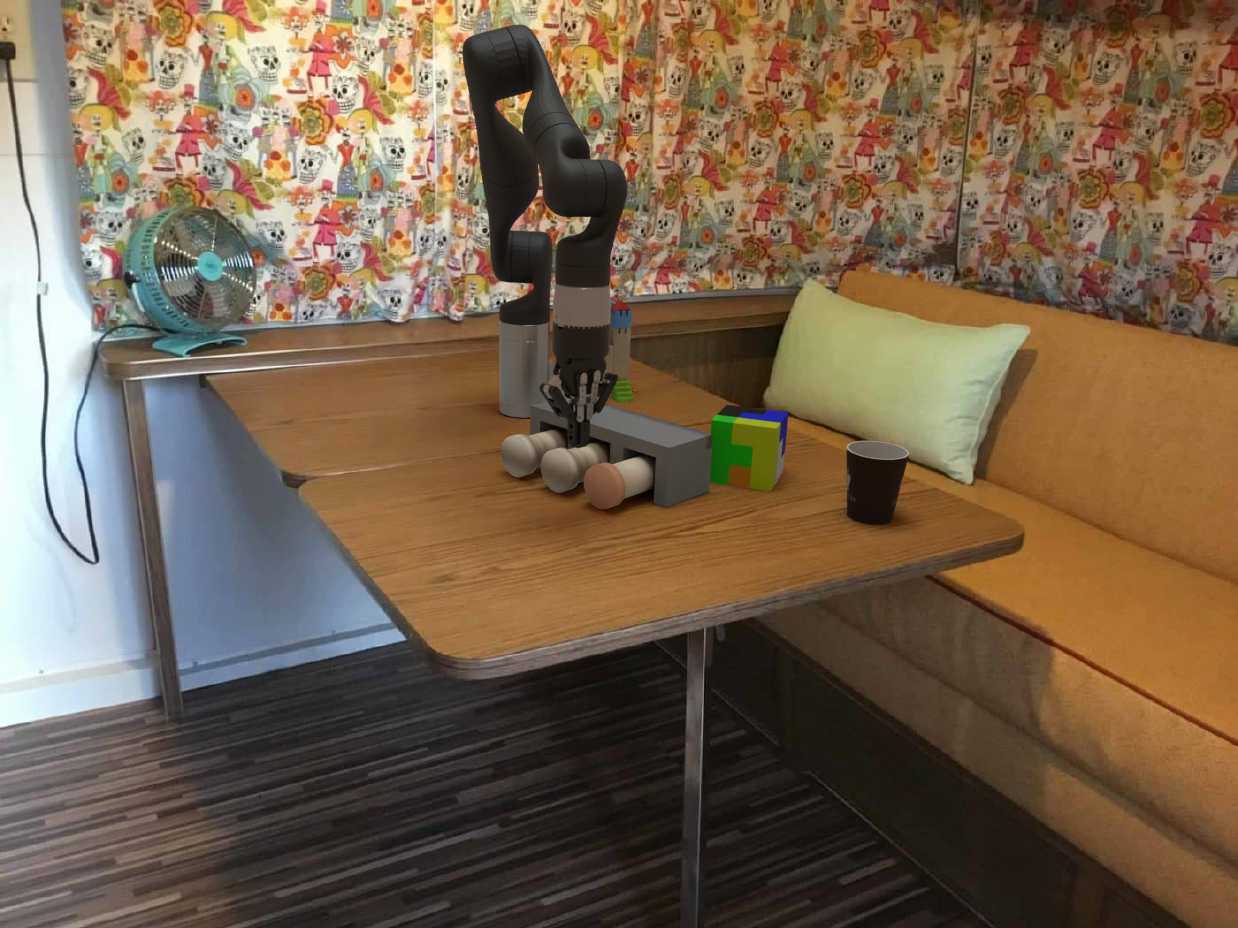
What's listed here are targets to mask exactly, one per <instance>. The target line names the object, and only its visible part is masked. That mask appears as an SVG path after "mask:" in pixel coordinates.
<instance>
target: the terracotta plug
mask: <svg viewBox="0 0 1238 928" xmlns="http://www.w3.org/2000/svg"><path fill="white" fill-rule="evenodd" d="M655 469H656V460H655V459H654V458H653V457H651V456H649V455H641V456H638V457H635V458H631V459H628V460H625V461H622V462H618V463H615V464H610V463H606V462H605V463H600V464H597V465H594V466H591V467H590V468H589V469H588V470H587V471H586V473H585V476H584V481H583V488H584V493H585V495H586V498H587V499H588V501H589V502H590V503H591V505H593V506H594V507H596V508H597V509H599V510H607V509H608V510H609V509H611V508H614V507H617V506H618V505H620V504H621V503H622V502H623V500H624V499H628V498H630V497H633V496H635V495H639V494H642V493H645V492H647V491H651V490H653V489H655Z"/></svg>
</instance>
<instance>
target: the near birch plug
mask: <svg viewBox="0 0 1238 928" xmlns="http://www.w3.org/2000/svg"><path fill="white" fill-rule="evenodd" d="M567 434H568V431H567V430H566V429H564V428H557V429H553V430H549V431H545V432H541V433H537V434H533V435H530V434H529V435H526V434H524V433H518V434H513V435H509V436H507V437H506V438H505V439H504V440H503V441H502V444H501V447H500V448H501V449H500V457H501V460H502V463H503V466H504V468H505V470H506V471H507V472H508V473H509V474H510V475H511V476H513V477H514V478H521V477H525V476H526V477H527V476H528V475H532V474H533V473H534V472H535V471H536V470H537V469H539V468H540V469H541V461H542V458H543V456H544V454H545V453H546V452H547V451H550V450H553V449H557V448H566V449H568V440H567Z"/></svg>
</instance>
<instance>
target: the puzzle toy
mask: <svg viewBox="0 0 1238 928" xmlns="http://www.w3.org/2000/svg"><path fill="white" fill-rule="evenodd" d="M789 414H790V413H789V412H788V411H780V410H773V409H766V408H764V409H763V408H758V407H757V408H756V407H748V406H741V405H732V404H726V405H725V406H723V408H722V409H721V410H720V411H719V412H718V413H717V414H716V415H715V416H714V417H713V418H712V419H711V423H710V424H711V425H710V434H713V441H712V455H711V470H710V483H714V484H720V485H726V486H733V487H740V488H747V489H752V490H753V489H754V490H760V491H767V492H772V491H773V489H774V487H775V485H776V484H777V482H778V480H779V479H780V477H781V476H782V474H783V473H784V467H785V466H784V465H785V464H784V463H785V457H786V456H785V454H786V444H787V435H788V421H789Z"/></svg>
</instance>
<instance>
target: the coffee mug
mask: <svg viewBox="0 0 1238 928" xmlns="http://www.w3.org/2000/svg"><path fill="white" fill-rule="evenodd" d="M909 456H910V452H909V450H908V449H906V448H905V447H902V446H900V445H897V444H894V443H890V442H885V441H879V440H877V441H876V440H859V441H852V442H850V443H848V444H847V445H846V515H847V517H848V518H849V519H851V520H853V521H855V522H858V523H861V524H865V525H866V524H867V525H876V526H877V525H878V526H879V525H886V524H889V523H891V522H892V521H893V518H894V514H895V510H896V507H897V502H898V499H899V494H900V491H901V488H902V484H903V481H904V476H905V471H906V468H907V464H908V460H909Z"/></svg>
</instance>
